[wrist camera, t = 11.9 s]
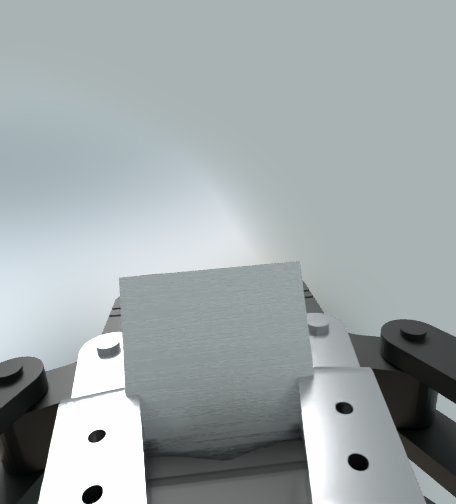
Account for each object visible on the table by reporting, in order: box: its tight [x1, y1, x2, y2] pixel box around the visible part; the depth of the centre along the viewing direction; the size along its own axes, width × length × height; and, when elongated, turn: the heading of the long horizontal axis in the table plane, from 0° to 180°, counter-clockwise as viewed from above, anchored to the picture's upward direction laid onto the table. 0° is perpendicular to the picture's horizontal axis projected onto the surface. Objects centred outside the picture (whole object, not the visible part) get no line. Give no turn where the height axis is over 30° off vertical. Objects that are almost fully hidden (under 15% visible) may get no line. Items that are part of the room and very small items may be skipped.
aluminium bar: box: [119, 261, 314, 461], centre depth 19 cm, size 26×3×3 cm, turn 2°
